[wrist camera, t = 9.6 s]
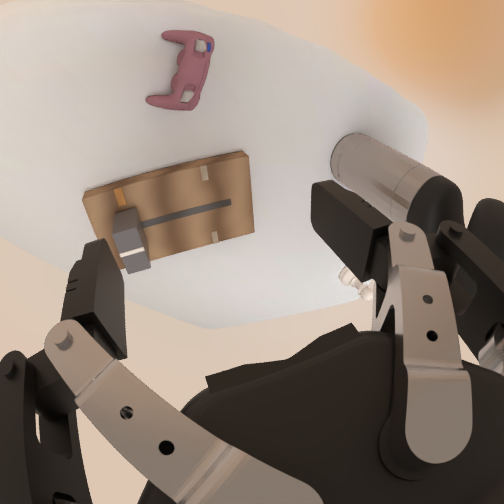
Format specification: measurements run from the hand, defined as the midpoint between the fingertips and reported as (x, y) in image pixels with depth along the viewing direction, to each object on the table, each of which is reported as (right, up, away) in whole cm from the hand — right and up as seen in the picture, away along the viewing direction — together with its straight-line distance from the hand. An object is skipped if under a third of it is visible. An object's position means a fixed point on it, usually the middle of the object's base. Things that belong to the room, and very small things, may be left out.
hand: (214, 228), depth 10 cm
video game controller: (-8, +21, +18) cm, 28 cm away
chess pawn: (+23, -5, +52) cm, 57 cm away
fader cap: (-14, +2, +25) cm, 29 cm away
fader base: (-10, +5, +28) cm, 30 cm away
